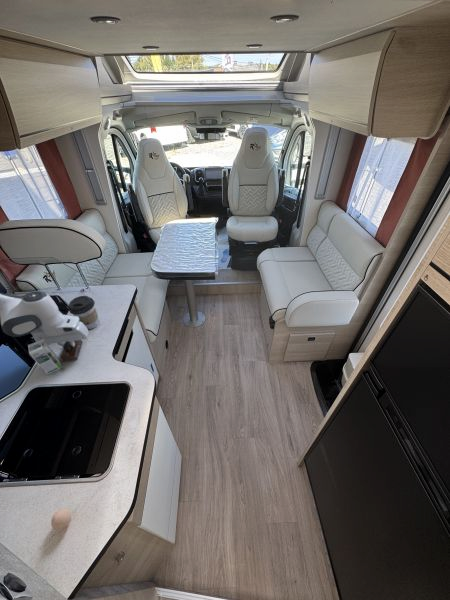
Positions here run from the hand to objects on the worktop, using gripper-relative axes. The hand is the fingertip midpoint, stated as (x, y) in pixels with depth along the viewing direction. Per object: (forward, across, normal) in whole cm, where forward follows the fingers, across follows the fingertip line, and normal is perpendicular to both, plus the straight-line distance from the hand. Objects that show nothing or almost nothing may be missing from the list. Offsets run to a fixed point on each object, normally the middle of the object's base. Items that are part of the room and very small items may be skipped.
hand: (69, 346), depth 112 cm
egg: (+4, +14, -62) cm, 63 cm away
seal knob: (+1, 0, 0) cm, 1 cm away
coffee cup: (+4, +4, +16) cm, 18 cm away
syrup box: (+4, -6, -7) cm, 10 cm away
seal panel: (+4, 0, 0) cm, 4 cm away
